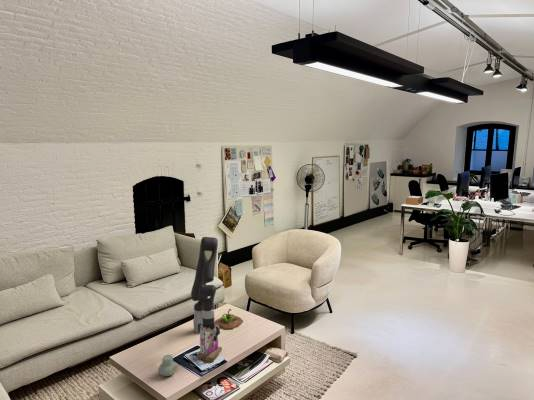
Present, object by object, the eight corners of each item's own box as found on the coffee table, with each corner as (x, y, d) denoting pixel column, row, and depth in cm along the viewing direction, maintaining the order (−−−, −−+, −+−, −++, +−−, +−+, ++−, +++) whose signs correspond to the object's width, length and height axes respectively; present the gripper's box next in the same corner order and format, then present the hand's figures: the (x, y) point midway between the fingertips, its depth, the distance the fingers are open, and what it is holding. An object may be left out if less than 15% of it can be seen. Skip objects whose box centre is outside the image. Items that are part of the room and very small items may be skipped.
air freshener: (168, 379, 215) (167, 363, 214) (156, 376, 219) (155, 360, 217) (179, 369, 225) (179, 353, 224) (168, 366, 229) (167, 351, 227)
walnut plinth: (197, 359, 235) (196, 355, 235) (206, 348, 248) (206, 344, 247) (213, 362, 232) (212, 357, 232) (221, 351, 244) (221, 347, 244)
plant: (247, 322, 286) (247, 308, 284) (231, 332, 269) (231, 318, 268) (226, 315, 296) (226, 302, 295) (210, 325, 280) (209, 311, 278)
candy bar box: (205, 356, 234) (204, 331, 231) (200, 353, 237) (199, 328, 235) (218, 348, 242) (218, 324, 240) (213, 346, 245) (212, 322, 243)
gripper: (195, 316, 235) (196, 341, 237) (216, 319, 230) (216, 344, 233) (200, 311, 242) (201, 335, 244) (221, 314, 237) (221, 338, 240)
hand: (209, 339), depth 238 cm, fingers open, 8 cm apart
